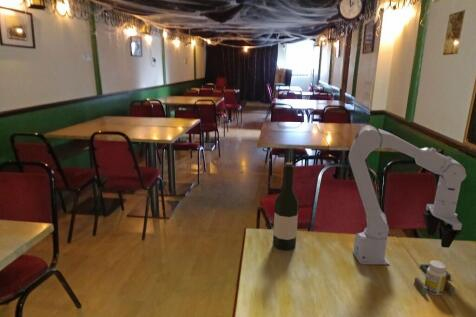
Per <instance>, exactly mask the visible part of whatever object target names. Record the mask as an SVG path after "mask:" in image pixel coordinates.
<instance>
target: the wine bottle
mask: <svg viewBox="0 0 476 317" xmlns="http://www.w3.org/2000/svg"><path fill="white" fill-rule="evenodd" d="M294 172H295V165H294V163H292V162H285V164H284V166H283V178H282V189H281V191H280V193H279V194H278V196H277V197H276V199H275V200H274V213H273V214H274V217H273V218H274V219H273V232H272V233H273V236H272V247H274V248H276V249H277V250H279V251H286V252H287V251H292V250H295V249H296V245H297V233H298V231H297V230H298V217H299V204H300V202H299V201H300V200H299V198H298V197H297V195H296V193H295V191H294V190H293V188H294V185H293V184H294Z"/></svg>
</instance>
